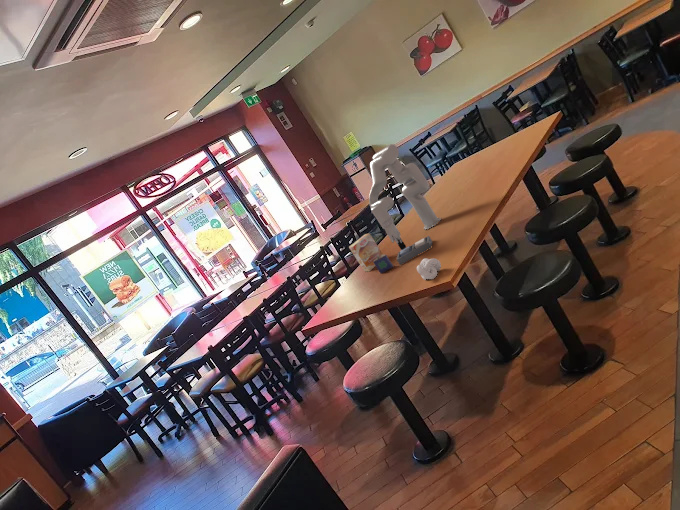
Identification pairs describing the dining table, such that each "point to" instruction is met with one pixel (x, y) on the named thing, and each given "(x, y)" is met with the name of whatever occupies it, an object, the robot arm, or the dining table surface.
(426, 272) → the white rounded lump
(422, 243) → the white key
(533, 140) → the dining table surface
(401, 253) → the blue key
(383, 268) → the dark blue boxy piece
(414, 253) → the key panel
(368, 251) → the coffeecake box
